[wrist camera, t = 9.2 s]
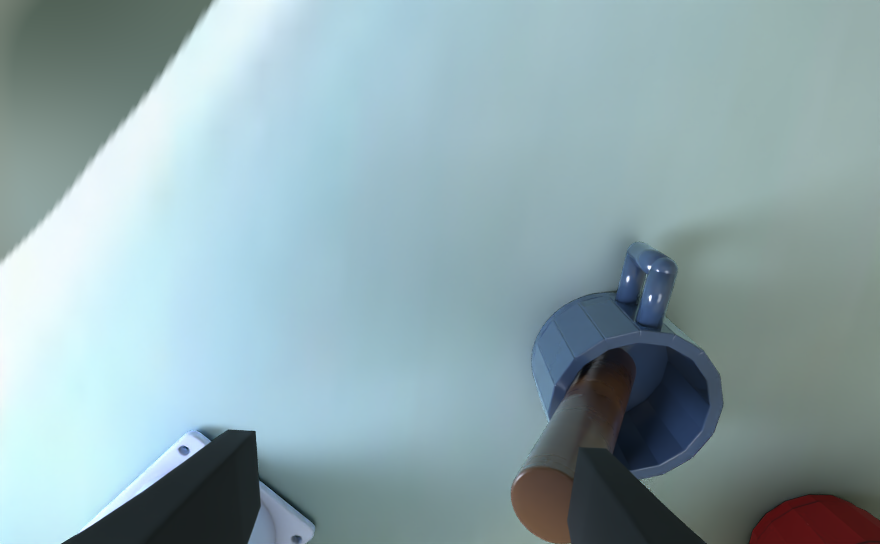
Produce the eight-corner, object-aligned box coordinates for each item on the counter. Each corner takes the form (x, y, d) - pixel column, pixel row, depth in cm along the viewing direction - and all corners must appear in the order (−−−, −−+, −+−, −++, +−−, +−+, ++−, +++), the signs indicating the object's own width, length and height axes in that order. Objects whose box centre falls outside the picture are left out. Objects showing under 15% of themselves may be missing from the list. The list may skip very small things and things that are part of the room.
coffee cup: (652, 426, 22) (694, 489, 18) (519, 410, 22) (535, 470, 18) (707, 245, 20) (770, 275, 16) (557, 226, 20) (584, 252, 16)
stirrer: (606, 398, 21) (543, 556, 12) (577, 360, 21) (494, 486, 12) (646, 375, 20) (610, 528, 11) (615, 336, 20) (555, 453, 11)
